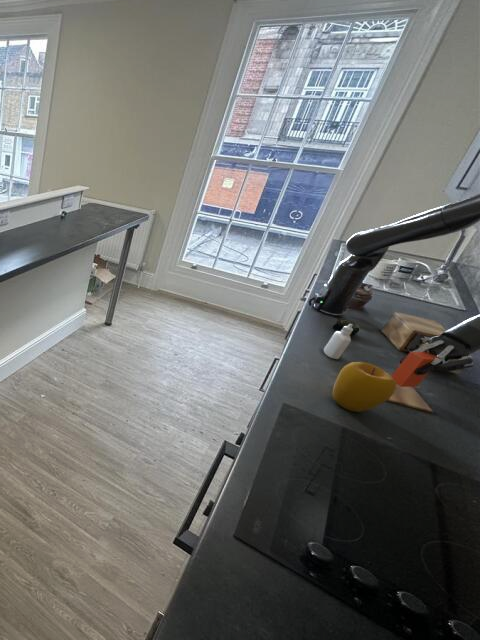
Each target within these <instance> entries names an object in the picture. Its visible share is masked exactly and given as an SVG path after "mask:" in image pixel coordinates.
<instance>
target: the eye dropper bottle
mask: <svg viewBox="0 0 480 640" xmlns="http://www.w3.org/2000/svg"><path fill="white" fill-rule="evenodd" d="M352 331H353V329H352V324H349V325H348V326H344V327H343V329H342V330H341V332H340V331H337V330H336V331H334V333H333V335H332V336H331V337H330V338H329V341H328V342H327V344H326V345H325V346H324V348H323V354H325V355H326V356H327V357H328V358H330V359H333V360H339V359H340V358H341V357H342V355H343V354H344V352H345V351H346V349H347V348H348V346H349V345H350V343H351V341H352V339H351V336H350V334H351V332H352Z"/></svg>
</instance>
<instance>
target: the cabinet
mask: <svg viewBox="0 0 480 640" xmlns="http://www.w3.org/2000/svg"><path fill="white" fill-rule="evenodd" d="M447 330H448V329H446V328H445V327H443V325H441V324H440V323H439V322H438V321H436V320H432V319H430V318H429V319H428V318H425V317H420V316H415V315H411V314H406V313H402V312H396V311H394V313H392V315H391V316H390V318H389V320H387V322H386V324H385V325H384V326H383V327H382V329H381V332H382V333H383V334H384V335H385V337H386V338H387V339H388V340H389V341H390V342H391V343H392V344H393V345H394V346H395V348H396V349H397V350H398V351H402V352H406V353H409V350H408V349H407V348H406V347H405V346H406V345H407V343H408V342H409V341H410V340H411V338H412V337H413V336H414V334H415V333H418V334H423V335H427V336H431V337H436V336H440V335H441V334H442V333H444V332H445V331H447Z"/></svg>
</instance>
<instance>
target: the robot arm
mask: <svg viewBox="0 0 480 640" xmlns="http://www.w3.org/2000/svg"><path fill="white" fill-rule="evenodd" d="M478 223H480V193H478V194H474V195H472V196H470V197H469V196H468V197H467V198H463V199H461V200H457V201H454V202H451V203H448V204H445V205H441V206H438V207H435V208H433V209H429V210H427V211H424V212H421V213H418V214H416V215H413V216H410V217H407V218H405V219H402V220H400V221H397V222H394V223H391V224H388V225H384V226H380V227H377V228H373V229H369V230H368V229H367V230H365V231H359V232H357V233H355V234H353V235H352V236H351V237H349V238H348V240H347V241H346V243H345V250H346V252H347V253H349V254H350V255H349V256H348V257H347V258H345V259H344V260H342V261H340V262H339V263H338V265H337V266H336V268H335V270H334V272H332V275H331V277H329V280H328V281H327V283H325V284H323V286H322V287H321V289H320V290H319V292H318V293H317V292H314V293H313V295H312V297H311V298H310V299H309V300H308V306H310V307H313V308H314V309H315V310H316V311H318V312H320V313H324V314H326V315H330V316H334V317H340V316H342V315H343V313H344V312H346V310H347V308H348V307H347V305H348V304H349V302H350V300H351V299H352V297H353V296H354V294H355V293H356V291H357V290H358V288H359V287H360V285H361V284H362V282H363V283H364V280H365V279H366V277H367V276H368V275H369V273H370V272H372V271H373V270H375V268H377V266H378V264H379V263H380V262H381V260H382V259H383V258H384V256H385V255H386V254H387V252H388V250H389V249H390V247H392V246H395V245H400V244H405V243H413V242H418V241H425V240H430V239H434V238H439V237H443V236H447V235H450V234H451V235H452V234H455V233H458V232H461V231H464V230H466V229H469V228H471V227H472V226H475V225H477V224H478ZM446 330H447V331H445V332H444V333H442V334H441V335H440V336H436V337H432V338H430V337H425V336H424V335H423V334H418V335H417V337H416V338H415V339H414V340H413V341H412V343H411V344H410V345H409V346H408V350H409V352H408V354H409V353H410V352H426V353H430V354H432V355H434V356H437V357H436V358H435V359H434V360H433V361H432V362H431V363H427V364H425V365H423V366H421V367H419V368H417V369H416V370H415V374H416V375H420V374H421V375H424V374H426V373H428V372H429V373H430V372H432V371H434V370H438V371H441V372H442V373H449V372H450V371H454V370H459V369H464V368H465V369H468V368H469V369H470V368H472V367H474V361H473V358H472V359H470V358H468V355H471V354H474V353H475V352H477V351H480V313H479V314H477V315H474V316H472V317H469V318H468V319H466V320H463V321H462V322H460V323H458V324H457V325H454V326H453V327H451V328H449V329H446ZM427 342H429V345H426V346H423V347H421V348H420V349H419V347H420V346H421V345H422V344H425V343H427ZM408 354H407V355H405V356H403V357H401V358H400V359H399V365H400V364H401V363H402V362H403V361H404V359H405V358H406V357H407V356H408ZM452 359H459V360H458V361H453V362H448V361H449V360H452ZM447 362H448V363H447ZM429 373H428V374H429Z"/></svg>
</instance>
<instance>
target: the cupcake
mask: <svg viewBox="0 0 480 640" xmlns="http://www.w3.org/2000/svg"><path fill="white" fill-rule="evenodd" d="M372 289H374V286H373V285H372V284H370V283H365V282H364V281H363V282H362V284H361V285H360V287H359V288H358V290H357V291H356V293H355V294H354V296H353V297H352V299H351V300H350V302H349V304H348V305H347V307H346V308H351V309H355V310H361V309H363V307H365V306H366V304H368V303H369V302H370V301H371V300H372V299H373V296H372V295H373V290H372Z"/></svg>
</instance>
